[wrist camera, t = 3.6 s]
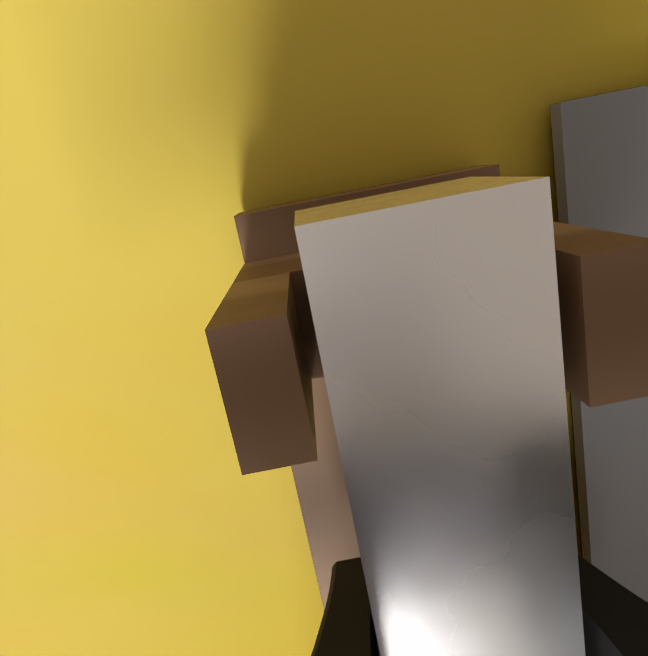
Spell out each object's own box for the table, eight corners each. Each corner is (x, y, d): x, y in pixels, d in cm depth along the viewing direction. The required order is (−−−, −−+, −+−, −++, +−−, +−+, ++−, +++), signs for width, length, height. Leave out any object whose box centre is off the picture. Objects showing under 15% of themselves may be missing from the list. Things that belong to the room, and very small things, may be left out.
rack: (537, 701, 17) (679, 1009, 11) (358, 735, 17) (393, 1063, 11) (480, 165, 13) (660, 155, 6) (239, 212, 13) (183, 248, 6)
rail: (545, 842, 14) (613, 1022, 11) (425, 864, 14) (459, 1051, 11) (470, 177, 9) (549, 176, 6) (294, 211, 9) (293, 225, 6)
